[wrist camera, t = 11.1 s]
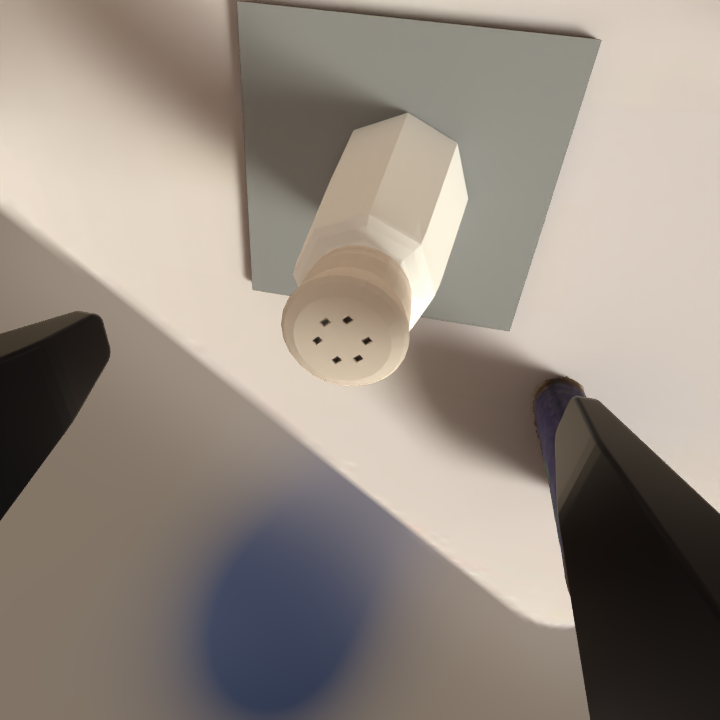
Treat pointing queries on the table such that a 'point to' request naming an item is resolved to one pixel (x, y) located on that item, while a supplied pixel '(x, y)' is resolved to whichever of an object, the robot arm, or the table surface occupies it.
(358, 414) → the table surface
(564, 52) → the mat
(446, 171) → the pepper shaker
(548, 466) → the flask
